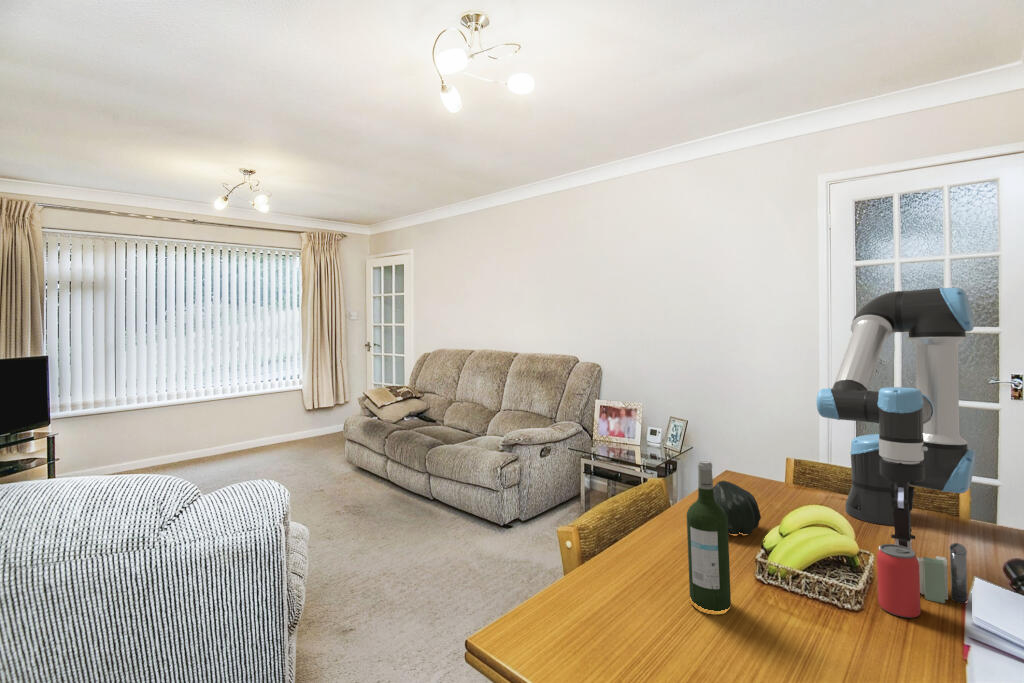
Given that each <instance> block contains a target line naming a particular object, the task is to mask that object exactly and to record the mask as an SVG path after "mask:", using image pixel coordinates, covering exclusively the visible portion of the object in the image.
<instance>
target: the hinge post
mask: <svg viewBox="0 0 1024 683" xmlns="http://www.w3.org/2000/svg"><path fill="white" fill-rule="evenodd" d="M967 553H968V549H967V548H966V547H965V546H964V544H961V543H958V542H955V543H951V544H950V545H949V556H950V590H951V591H950V595H951V597H950V598H952V599H953V600H954V601H953V600H952V599H951V600H952V601H953V602H955V601H956V602H955V603H958V602H959V603H958V604H962V603H964V605H965V602H966V601H967V600H968V571H967V570H968V568H967V563H968V562H967Z"/></svg>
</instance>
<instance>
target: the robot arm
mask: <svg viewBox="0 0 1024 683" xmlns="http://www.w3.org/2000/svg"><path fill="white" fill-rule="evenodd" d="M973 330H974V318H973V313H972V307H971V302H970V300H969V297H968V294H967V292H966V291H965V290H964V289H963V288H961V287H939V288H937V287H935V288H926V289H923V288H922V289H913V290H901V291H900V290H897V291H895V290H894V291H891V292H890V291H889V292H886V293H883V294H881V295H879V296H876V297H875V298H872V299H871V300H870V301H868V303H866V304H864V306H862V307H861V308H860V309H859V310H858V311H857V313H856V314H855V316H854V317H853V319H852V322H851V325H850V331H851V333H852V334H851V336H850V339H849V342H848V344H847V348H846V349H845V350H846V351H845V353H844V356H843V359H842V362H841V364H840V367H839V369H838V372H837V374H836V377H835V381H834V383H833V386H832V388H831V387H828V388H822V389H819V391H818V392H817V395H816V411H817V412H818V414H819V416H821V417H822V418H826V419H832V420H837V421H840V420H841V421H851V422H853V421H854V422H866V423H872V424H873V423H874V424H875V423H876V424H878V431H879V434H878V433H877V434H875V433H873V434H865V435H859V436H858V435H857V436H856V437H854V438H853V439H851V442H850V444H851V445H850V452H849V454H850V466H851V467H850V468H851V487H850V489H849V492H848V495H847V498H846V501H845V505H844V506H845V512H846V513H847V514H848V515H849V516H850V517H852V518H855V519H858V520H860V521H864V522H867V523H871V524H877V525H878V524H879V525H884V526H886V525H887V526H894V534H892V533H891V535H890V536H891V537H890V538H891V539H894V544H895V545H900V546H904V547H907V548H909V549H911V550H913V549H912V540H916V535H913V534H912V530H913V529H912V518H911V516H912V513H911V512H912V510H913V508H914V506H913V505H914V497H915V487H916V488H923V489H928V490H929V489H930V490H935V491H941V492H943V493H945V492H947V493H954V494H964V493H966V492H967V491H969V489H970V486H971V483H972V481H973V480H972V479H973V474H974V471H975V464H976V455H977V454H976V451H975V450H973V449H971V448H968V441H967V440H965V439H964V438H963V436H961V435H960V399H959V398H960V397H959V396H960V394H959V393H960V391H959V390H960V389H959V384H960V383H959V344H960V343H961V342H963V341H964V340H965V339H966V337H967V336H966V334H967V333H968V332H971V331H973ZM892 333H908V340H910V342H912V343H914V344H915V370H916V371H915V376H916V377H915V381H916V382H915V384H916V388H914V387H903V386H888V387H887V386H886V387H882V388H880V389H879V390H878V391H874V390H870V389H871V386H872V382H873V379H874V376H875V373H876V370H877V368H878V362H879V360H880V357H881V354H882V350H883V347H884V344H885V341H887V340H888V339H890V337H891V336H892Z"/></svg>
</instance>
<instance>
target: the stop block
mask: <svg viewBox="0 0 1024 683" xmlns="http://www.w3.org/2000/svg"><path fill="white" fill-rule="evenodd" d="M922 557H923V565H924V595H925V596H924V599H925V600H926V599H927V600H926V601H931V602H936V603H939V604H940V603H941V604H946V599H945V588H944V563H943V560H939V559H936V558H932V557H927V556H922Z"/></svg>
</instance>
